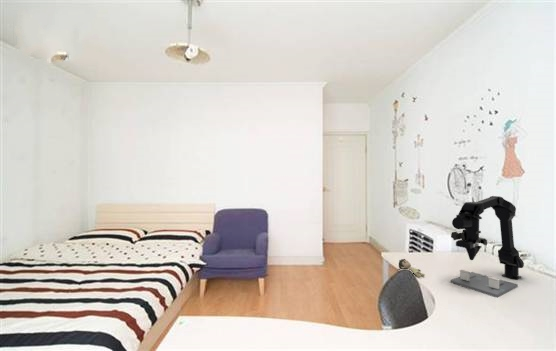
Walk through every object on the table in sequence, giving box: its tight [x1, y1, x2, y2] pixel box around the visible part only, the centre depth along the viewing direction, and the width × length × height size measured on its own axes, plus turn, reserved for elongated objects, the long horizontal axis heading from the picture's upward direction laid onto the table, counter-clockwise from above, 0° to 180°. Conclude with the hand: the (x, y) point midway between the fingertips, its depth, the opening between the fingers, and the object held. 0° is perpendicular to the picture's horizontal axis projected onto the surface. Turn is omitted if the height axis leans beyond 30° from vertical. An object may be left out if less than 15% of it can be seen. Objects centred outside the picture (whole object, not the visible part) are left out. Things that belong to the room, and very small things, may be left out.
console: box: [449, 271, 519, 298], centre depth 137 cm, size 22×20×2 cm
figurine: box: [398, 258, 426, 279], centre depth 153 cm, size 8×6×15 cm
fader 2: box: [488, 276, 501, 289], centre depth 130 cm, size 2×4×4 cm, turn 30°
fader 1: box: [459, 269, 471, 281], centre depth 140 cm, size 2×4×4 cm, turn 30°
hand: (471, 260), depth 135 cm, fingers closed
